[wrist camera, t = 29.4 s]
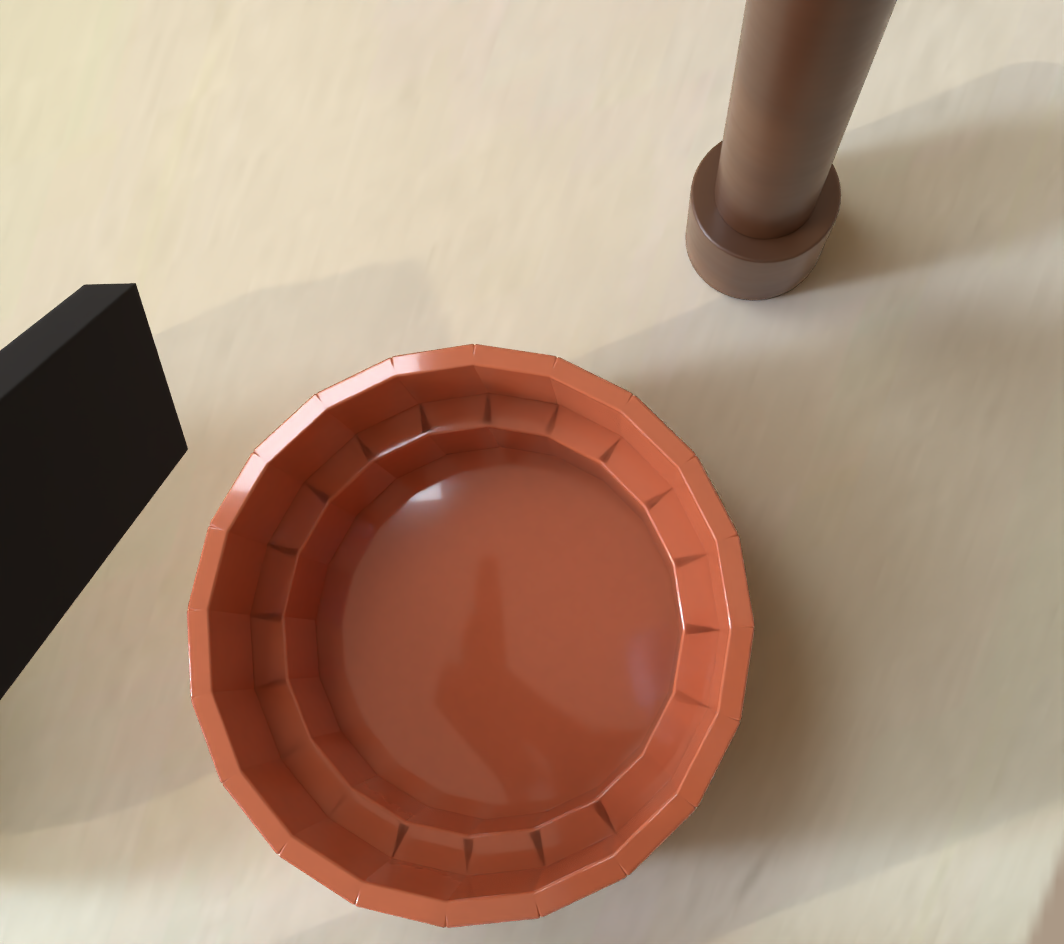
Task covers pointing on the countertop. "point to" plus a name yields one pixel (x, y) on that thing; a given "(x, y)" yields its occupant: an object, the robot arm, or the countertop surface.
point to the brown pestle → (781, 144)
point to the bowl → (470, 635)
